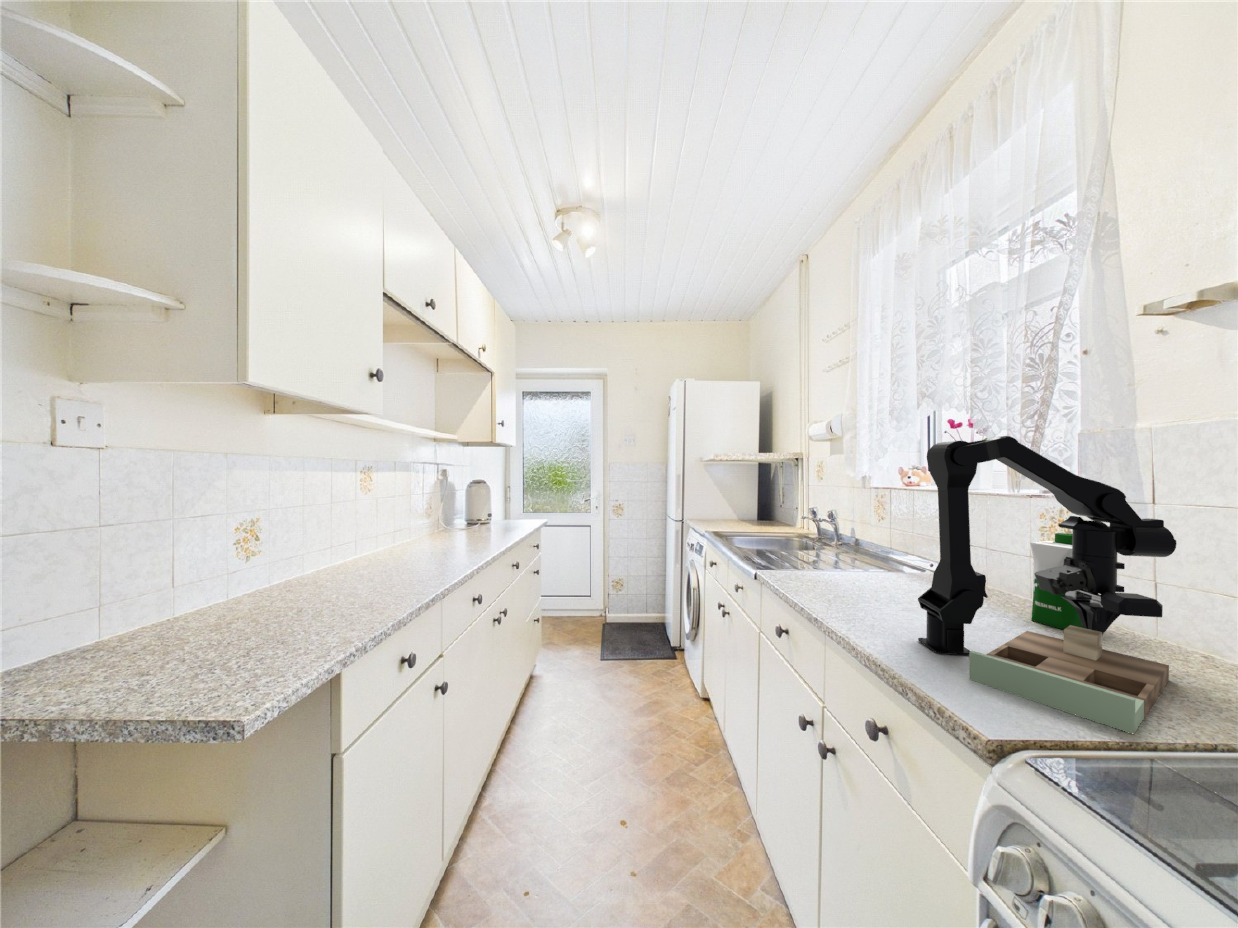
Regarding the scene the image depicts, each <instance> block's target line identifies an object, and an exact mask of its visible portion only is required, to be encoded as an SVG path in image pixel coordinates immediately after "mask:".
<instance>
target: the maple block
mask: <svg viewBox="0 0 1238 928" xmlns="http://www.w3.org/2000/svg"><path fill="white" fill-rule="evenodd" d="M1063 640H1064V653H1068V654H1072V655H1076V656H1080V657H1084V658H1088V659H1092V660H1095V661H1096V660H1097V659H1098V658H1100V657H1101V656H1102V649H1103V635H1102V632H1099V631H1094V630H1090V629H1085V628H1081V627H1076V626H1071V625H1070V626H1068V627H1067V628H1065V629H1064V630H1063Z"/></svg>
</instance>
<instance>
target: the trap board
mask: <svg viewBox="0 0 1238 928" xmlns="http://www.w3.org/2000/svg"><path fill="white" fill-rule="evenodd" d="M985 654H986V655H989V656H993V657H996V658H1000V659H1003V660H1006V661H1010V662H1013V663H1017V664H1020V665H1024V666H1027V667H1030V668H1034V669H1037V670H1041V671H1044V672H1048V673H1051V674H1054V675H1058V676H1061V677H1065V678H1068V679H1072V680H1075V681H1078V682H1082V683H1085V684H1089V685H1092V686H1095V687H1099V688H1102V689H1106V690H1109V691H1113V692H1116V693H1119V694H1123V695H1126V696H1130V697H1133V698H1137V699H1140V700H1143V701H1144V717H1145V718H1146V716H1147V715H1148V713H1149V712H1150V710H1151V708H1152V707H1153V705H1154V704H1155V702H1156V701H1157V699H1158V698H1159V696H1160V694H1161V693H1162V691H1163V690H1164V688H1165V687H1166V685H1167V684H1168V682H1169V681H1170V673H1169V672H1170V665H1169V664H1166V663H1162V662H1159V661H1153V660H1150V659H1145V658H1141V657H1138V656H1132V655H1129V654H1124V653H1120V652H1117V651H1112V650H1108V649H1103V648H1102V656H1101V657H1100V658H1098V659H1097V660H1096V661H1095V660H1092V659H1088V658H1084V657H1080V656H1076V655H1072V654H1068V653H1064V638H1063V639H1062V638H1057V637H1054V636H1049V635H1045V634H1041V633H1038V632H1033V631H1029V630H1026V631H1025V632H1022V633H1021V634H1019V635H1018V636H1015V637H1014V638H1012V639H1011V640H1009V641H1007V642H1005V643H1003V644H1001V645H1000V646H998V647H997V648H995V649H993V650H991V651H989V652H988V653H985ZM1146 714H1147V715H1146Z"/></svg>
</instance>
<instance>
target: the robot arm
mask: <svg viewBox="0 0 1238 928" xmlns="http://www.w3.org/2000/svg"><path fill="white" fill-rule="evenodd" d="M994 460H997V461H999V462H1000V463H1002V464H1003V465H1005V466H1006V467H1007V468H1010V469H1011V470H1013V471H1015V472H1017V473H1019V474H1021V475H1022V476H1024V477H1026V478H1027V479H1029V480H1031V481H1033V482H1034V483H1036V484H1037V485H1039V486H1040V487H1043V488H1044V489H1045V490H1048V491H1049V492H1050V493H1052V495H1053V496H1054V498H1055V499H1056V501H1057V502H1058V503H1059V504H1060V505H1062V506H1063V507H1064V508H1065V509H1066V510H1068V512H1070V513H1071V514H1074V515H1069V517H1068V518H1067V519H1065V520H1063V521H1062V522H1060V523H1059V524H1058V527H1059V528H1063V529H1067V530H1072V533H1071V534H1072V557H1066V559H1064V565H1063V566H1059V567H1052V568H1049V569H1045V570H1042V571H1038V572H1035V573H1034V574H1035V577H1036V580H1037V582H1038V586H1039V587H1040V589H1041V590H1046V591H1048V592H1051V593H1052V594H1054V595H1061V597H1062V598H1063V599H1065V600H1067V601H1068V602H1069V603H1071V604H1072V605H1073V606H1074V607H1075V609H1076V611H1077V613H1078V615H1079V617H1080V620H1081V622H1082V625H1083V627H1084V628H1085V629H1090V630H1094V631H1099V632H1102V636H1103V634H1105V633H1106V631H1107V630H1108V629H1109V627H1111V625H1112V624H1113V623H1114V622H1115V621H1116V620H1117V619H1118V618H1119V617H1120V616H1130V617H1149V618H1163V613H1164V612H1163V604H1162V603H1161V602H1160V601H1158V600H1157V599H1155V598H1153V597H1149V596H1146V595H1142V594H1138V593H1129V592H1128V593H1127V592H1125V586H1124V585H1123V586H1122V585H1119V584H1118V570H1125V563H1124V562H1119V561H1118V554H1120V555H1121V556H1125V557H1127V556H1128V557H1147V558H1148V557H1149V558H1150V557H1151V558H1166V557H1169V556H1171V555H1172V554H1173V553H1174V552H1175V551H1176V548H1177V539H1175V537H1174V535H1173V533H1172V531H1170V529H1168V528H1167V527H1165V521H1164V520H1163V519H1157V518H1141V517H1140V516H1139V515H1138V514H1137V512H1136V511H1135V509H1134V508H1132V506H1131V505H1130V504H1129V503H1128V502H1127V500H1126V498H1127V496H1126V494H1125V493H1124V492H1123V491H1122V490H1120V489H1119V488H1117V487H1114V486H1111V485H1108V484H1106V483H1103V482H1100V481H1097V480H1094V479H1089V478H1086V477H1082V476H1079V475H1077V474H1074V473H1073V472H1071V471H1069V470H1067V469H1066V468H1064V467H1063V466H1061V465H1059V464H1057V463H1055V461H1051V460H1050V459H1049V458H1047V457H1045V456H1043V455H1041V454H1040V453H1038V452H1037V451H1035V450H1034V449H1033V450H1032V449H1031V448H1029V447H1028V446H1026V445H1024V444H1022V443H1020V442H1019V440H1017V438H1015V437H1012V436H1009V435H1002V436H991V437H989V438H985V439H980V440H975V441H969V442H968V441H966V440H954V441H941V442H937V443H935V444H934V445H932V446H931V447H930V448H929V449H928V450H927V453H926V461H927V465H928V470H929V474H930V476H931V477H932V479H933V482H934V483H935V485H936V488H937V499H938V502H937V503H938V528H939V531H938V532H939V555H940V556H939V557H940V560H939V562H938V564H937V566H936V568H935V569H934V571H933V574H932V575H933V576H932V582H931V587H930V588H928V589H927V590H926V591H924V592H923V593H922V594H921V595H920V596H919V597H917V601H918V604H919V606H920V609H922V610H925V611H926V637H918V638H917V640H918V642H920V643H921V644H923V645H924V646H925V647H927V648H928V649H929V650H931V651H932V652H934V653H936V654H942V655H943V654H944V655H945V654H947V655H961V656H962V655H966V656H969V653H970V651H971V650H969V649H968V648H966V647H965V625H970V624H972V623H973V621H974V620H973V619H974V617H975V616H976V613H977V611H978V610H979V609H981V608H983V605H984V600H985V598H986V599H987V598H989V596H988V594H987V592H986V585H987V578H986V575H985V574H983V573H980V572H978V571H976V570H975V569H974V567H973V565H972V558H971V557H972V556H971V554H972V553H971V532H970V531H971V530H970V529H971V526H970V501H969V499H970V498H969V497H970V496H969V488H970V485H971V484H972V482H973V480H974V478H975V475H976V474H977V468H978V464H980V463H986V462H990V461H994ZM1075 515H1076V516H1075ZM1083 517H1086V518H1088V519H1089V520H1088V519H1087V520H1085V519H1083ZM1106 523H1109V525H1108V524H1106ZM1062 594H1066V595H1062Z"/></svg>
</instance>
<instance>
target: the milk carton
mask: <svg viewBox="0 0 1238 928" xmlns="http://www.w3.org/2000/svg"><path fill="white" fill-rule="evenodd" d="M1029 544H1030V548H1031V554H1032V558H1033V563H1032V565H1033V568H1032V569H1033V570H1032V571H1033V572H1032V575H1033V576H1032V578H1033V579H1032V583H1033V584H1032V586H1033V588H1032V607H1031V621H1032V622H1035V623H1039V624H1043V625H1047V626H1050V627H1053V628H1057V629H1060V630H1063V631H1064V629H1065V628H1067V627H1068V626H1070V625H1071V626H1076V627H1081V628H1084V627H1083V625H1082V622H1081V620H1080V617H1079V615H1078V613H1077V611H1076V609H1075V607H1074V606H1073V605H1072V604H1071V603H1069V602H1068V601H1067V600H1065V599H1063V598H1062V597H1061V595H1054V594H1052V593H1051V592H1048V591H1046V590H1041V589H1040V587H1039V586H1038V582H1037V580H1036V577H1035V574H1034V573H1035V572H1038V571H1042V570H1045V569H1049V568H1052V567H1059V566H1063V565H1064V559H1066V557H1072V533H1066V532H1065V533H1063V532H1062V533H1061V532H1060V533H1059V532H1056V533H1054V540H1038V541H1035V542H1033V541H1031V542H1029ZM1062 595H1066V594H1062Z"/></svg>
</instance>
